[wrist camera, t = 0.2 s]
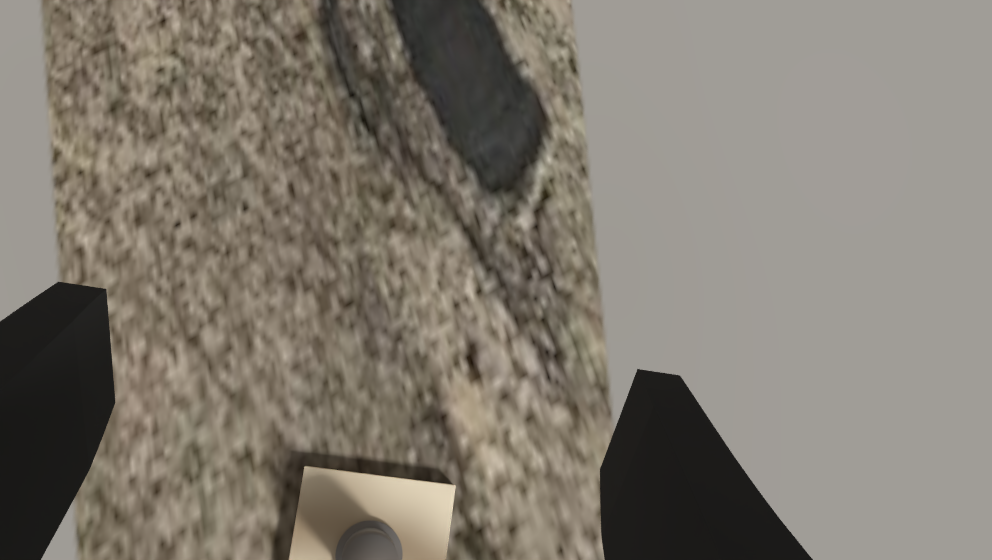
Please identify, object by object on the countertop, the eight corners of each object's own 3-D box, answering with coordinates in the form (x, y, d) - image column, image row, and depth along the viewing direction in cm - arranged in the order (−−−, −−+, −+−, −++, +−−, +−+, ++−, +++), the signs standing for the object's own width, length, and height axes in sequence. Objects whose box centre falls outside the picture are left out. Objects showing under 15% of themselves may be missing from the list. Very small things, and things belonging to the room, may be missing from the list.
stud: (432, 638, 41) (441, 662, 37) (279, 623, 40) (270, 644, 36) (453, 484, 42) (464, 489, 38) (305, 465, 41) (299, 468, 37)
